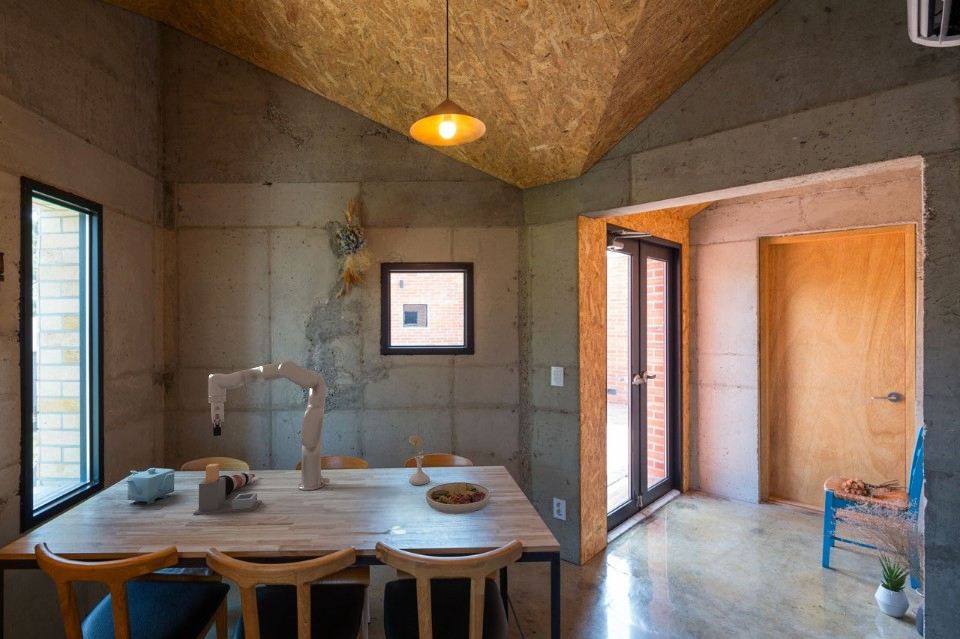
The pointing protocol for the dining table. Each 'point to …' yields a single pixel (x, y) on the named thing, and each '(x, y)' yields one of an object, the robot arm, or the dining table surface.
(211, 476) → the peg
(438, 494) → the bowl
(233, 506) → the socket stand
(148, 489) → the teakettle
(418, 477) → the flower in vase
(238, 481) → the cable
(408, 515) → the dining table surface
